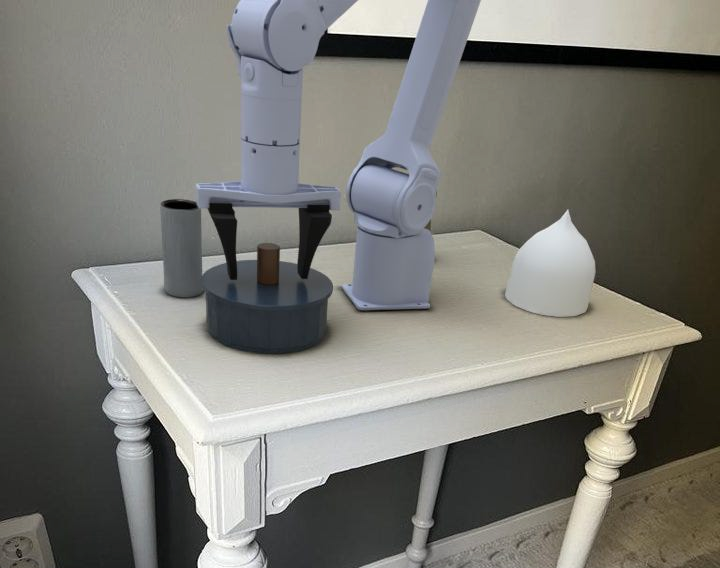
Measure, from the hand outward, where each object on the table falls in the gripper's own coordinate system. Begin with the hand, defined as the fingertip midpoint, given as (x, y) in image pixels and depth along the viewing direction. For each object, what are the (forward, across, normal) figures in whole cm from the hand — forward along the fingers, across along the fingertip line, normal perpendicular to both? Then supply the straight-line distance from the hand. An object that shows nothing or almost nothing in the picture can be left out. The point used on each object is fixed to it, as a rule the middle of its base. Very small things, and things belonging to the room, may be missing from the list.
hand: (267, 276), depth 79 cm
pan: (+6, 0, 0) cm, 6 cm away
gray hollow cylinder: (+6, +8, -12) cm, 16 cm away
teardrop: (+6, -39, -6) cm, 40 cm away
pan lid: (+1, 0, 0) cm, 1 cm away
